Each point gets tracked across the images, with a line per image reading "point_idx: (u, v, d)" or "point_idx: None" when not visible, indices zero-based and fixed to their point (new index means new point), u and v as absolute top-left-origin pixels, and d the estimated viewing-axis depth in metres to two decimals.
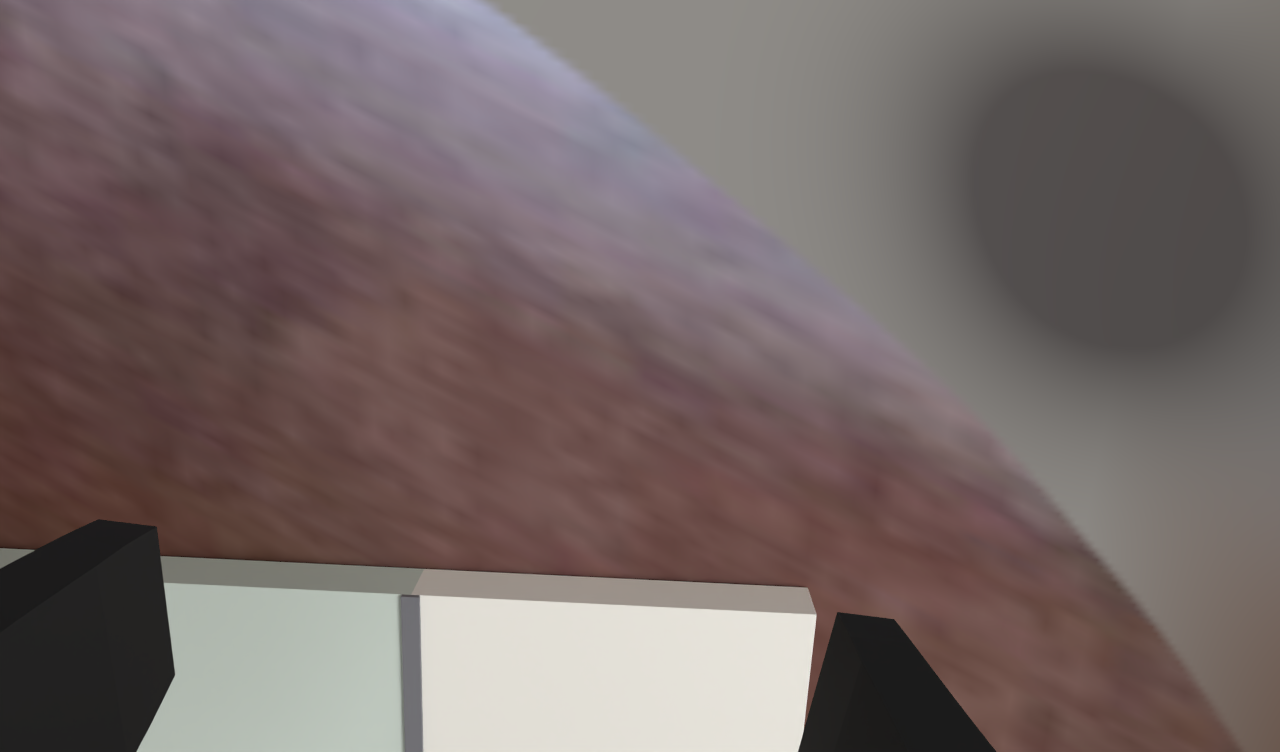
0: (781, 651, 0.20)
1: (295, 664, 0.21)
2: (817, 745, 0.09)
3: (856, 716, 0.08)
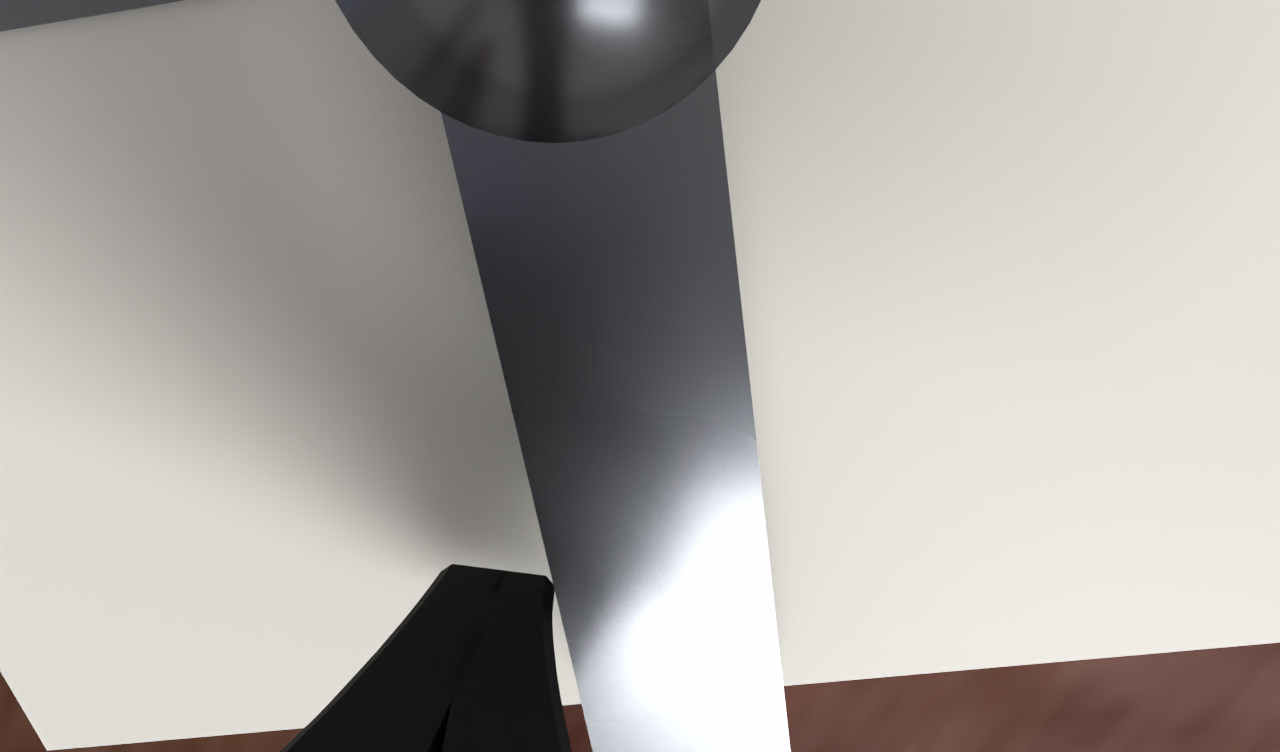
0: None
1: None
2: None
3: None
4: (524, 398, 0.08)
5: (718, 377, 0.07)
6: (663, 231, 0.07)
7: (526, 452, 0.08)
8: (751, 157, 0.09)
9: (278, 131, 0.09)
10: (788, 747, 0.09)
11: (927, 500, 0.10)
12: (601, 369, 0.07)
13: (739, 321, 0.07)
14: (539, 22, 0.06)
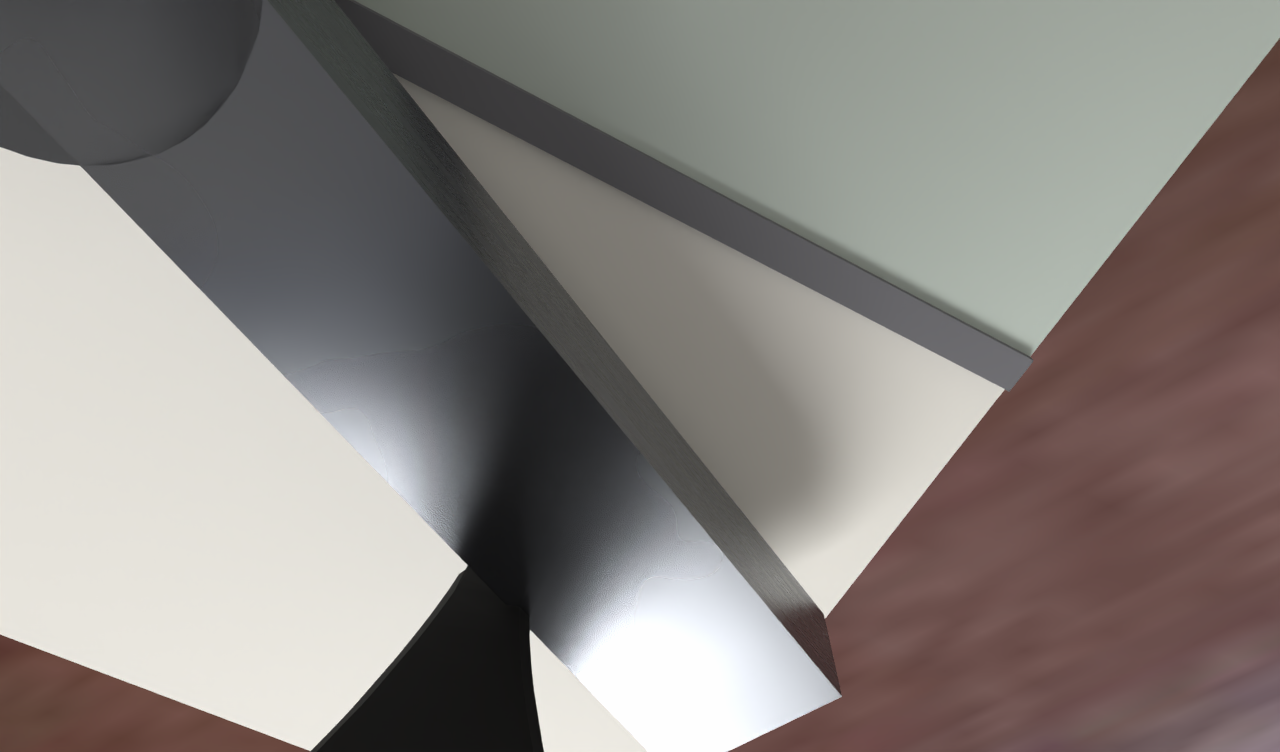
0: None
1: (1029, 40, 0.08)
2: None
3: None
4: (315, 388, 0.08)
5: (461, 284, 0.07)
6: (322, 171, 0.07)
7: (347, 437, 0.08)
8: None
9: None
10: (775, 620, 0.08)
11: (274, 578, 0.11)
12: (358, 328, 0.07)
13: (447, 220, 0.07)
14: (99, 40, 0.06)
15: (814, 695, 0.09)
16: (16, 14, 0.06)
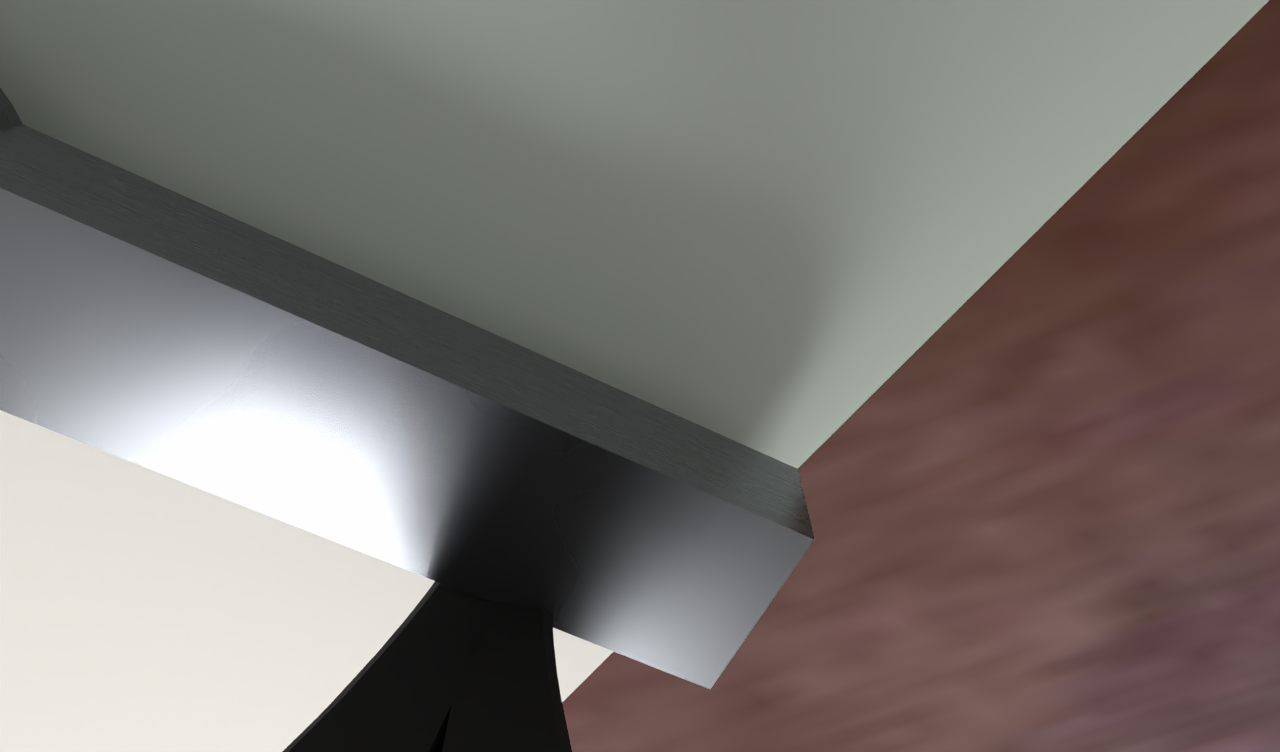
0: None
1: (670, 362, 0.10)
2: None
3: None
4: (173, 465, 0.08)
5: (219, 312, 0.07)
6: (54, 274, 0.07)
7: (222, 496, 0.08)
8: None
9: None
10: (696, 491, 0.08)
11: None
12: (169, 395, 0.08)
13: (174, 263, 0.07)
14: None
15: (786, 550, 0.08)
16: None
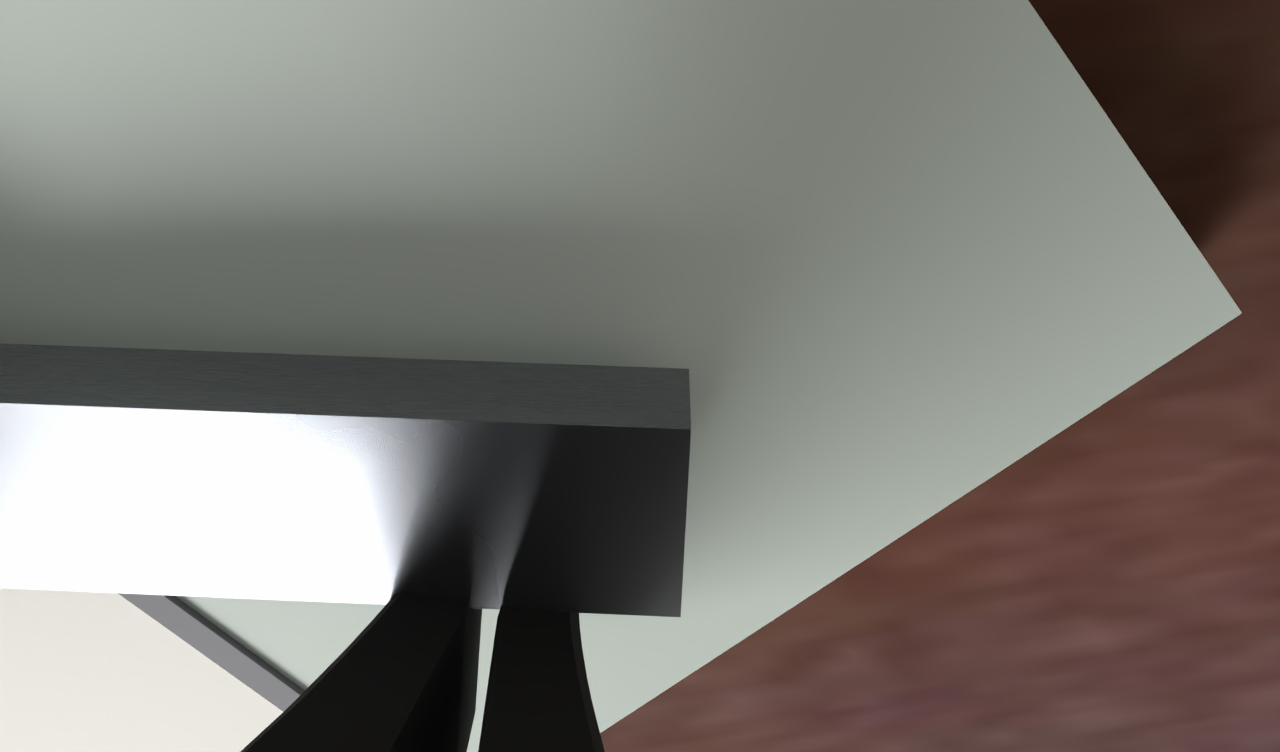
0: None
1: None
2: None
3: None
4: (109, 581, 0.08)
5: (67, 431, 0.08)
6: None
7: (159, 593, 0.08)
8: None
9: None
10: (551, 426, 0.08)
11: None
12: (70, 521, 0.08)
13: (11, 404, 0.08)
14: None
15: (670, 450, 0.08)
16: None
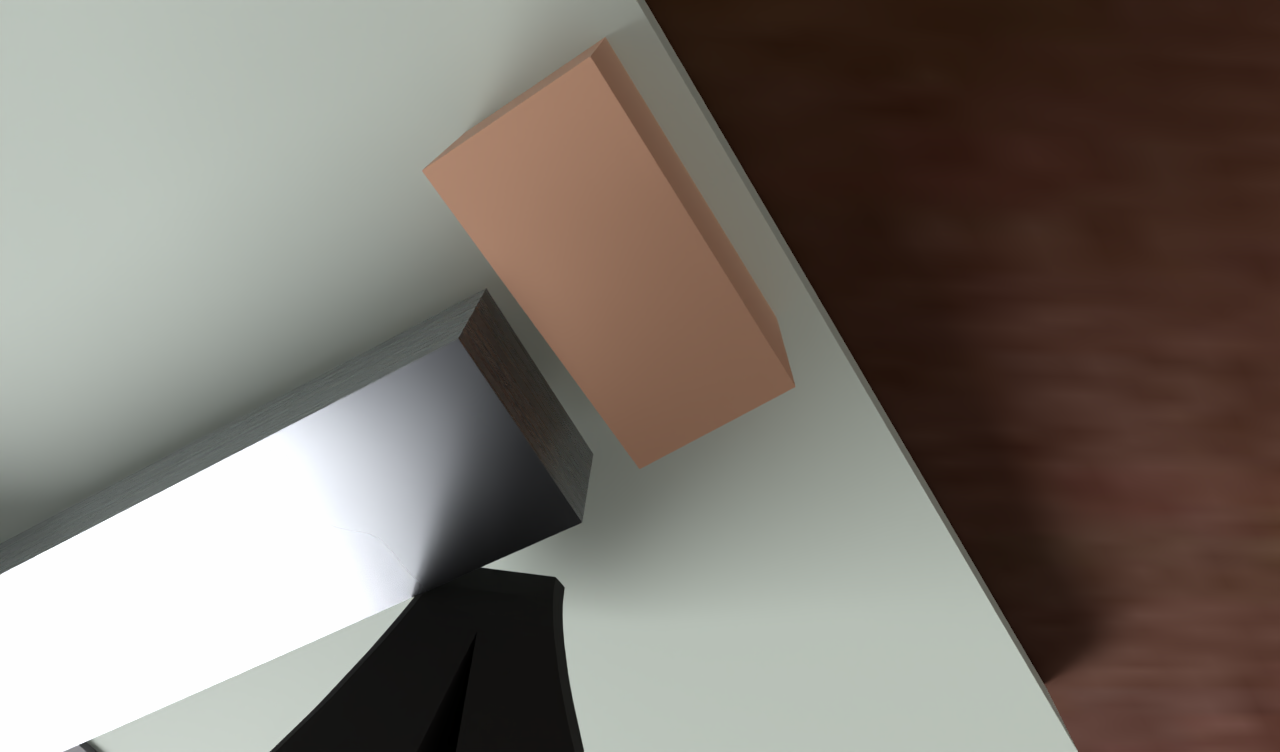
0: None
1: None
2: None
3: None
4: (121, 713, 0.09)
5: (5, 600, 0.09)
6: None
7: (160, 706, 0.09)
8: None
9: None
10: (342, 401, 0.08)
11: None
12: (59, 675, 0.09)
13: None
14: None
15: (454, 368, 0.07)
16: None
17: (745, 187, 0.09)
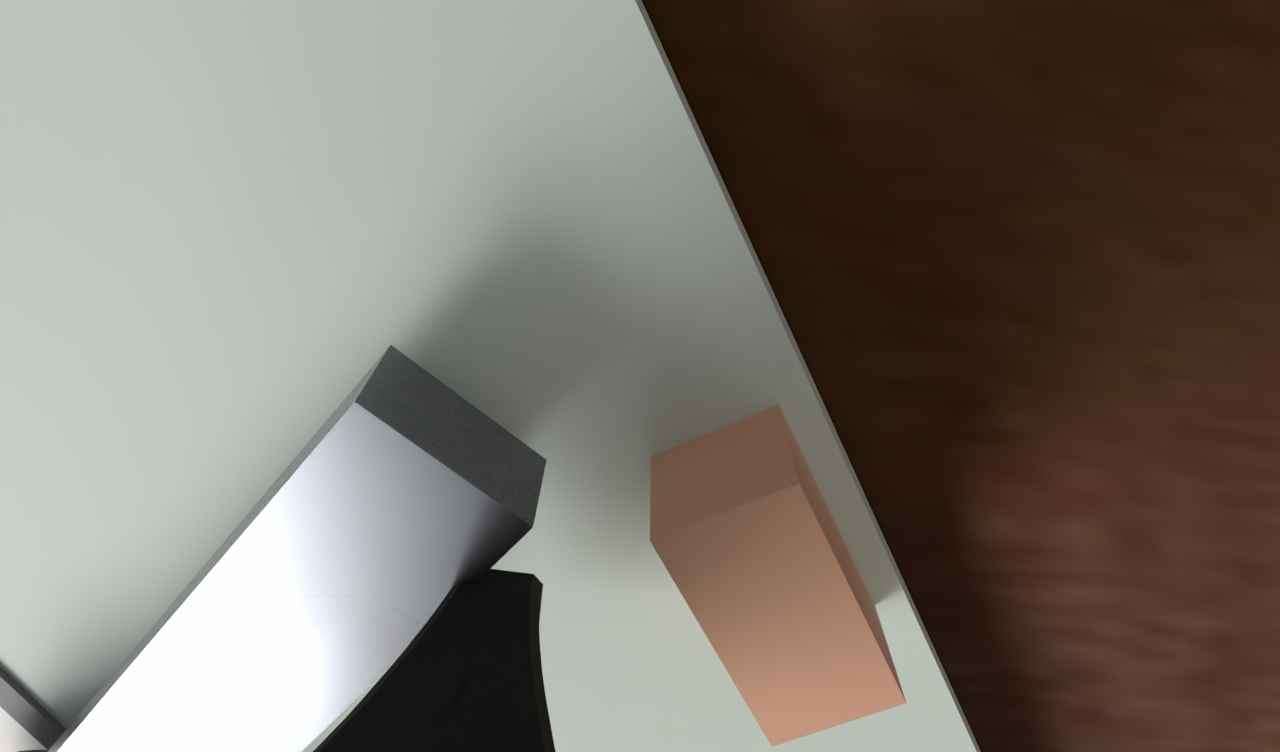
0: None
1: None
2: None
3: None
4: None
5: (100, 736, 0.10)
6: None
7: None
8: None
9: None
10: (284, 486, 0.08)
11: None
12: None
13: (64, 746, 0.10)
14: None
15: (363, 428, 0.08)
16: None
17: (868, 514, 0.11)
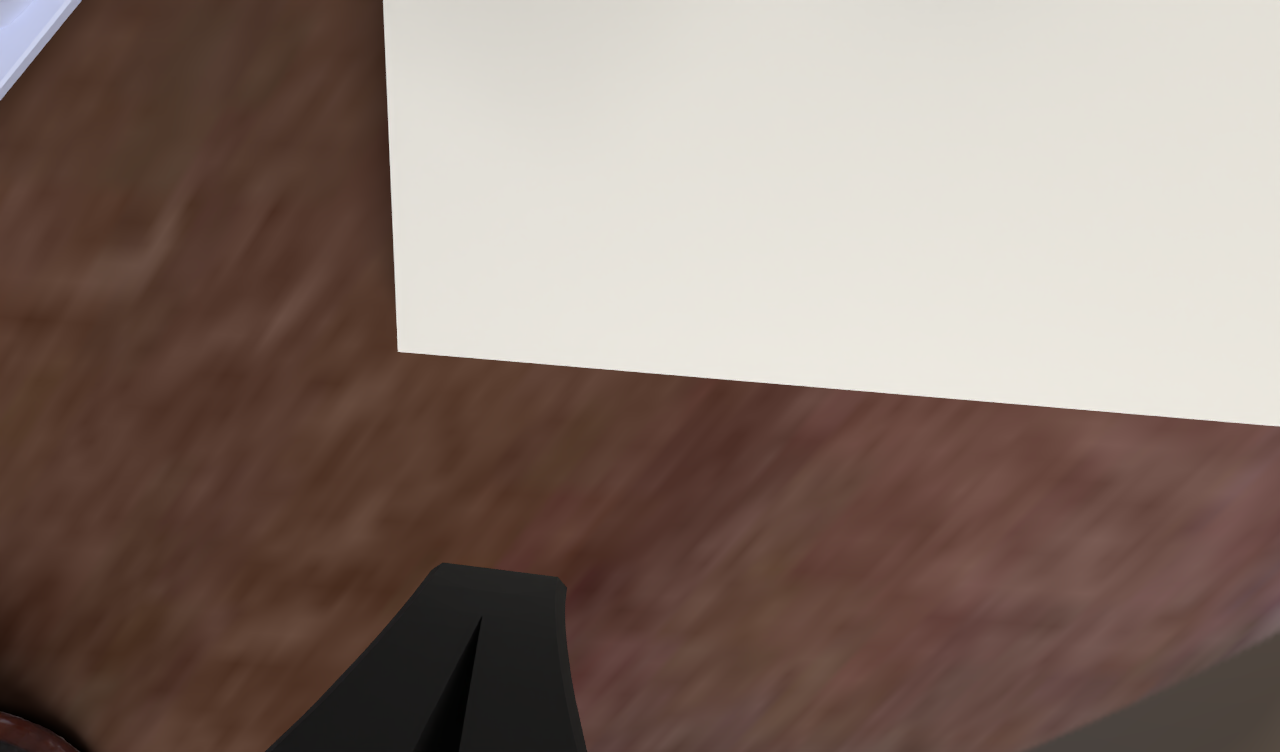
0: None
1: None
2: None
3: None
4: None
5: None
6: None
7: None
8: (1023, 26, 0.14)
9: None
10: None
11: (1051, 277, 0.16)
12: None
13: None
14: None
15: None
16: None
17: None
